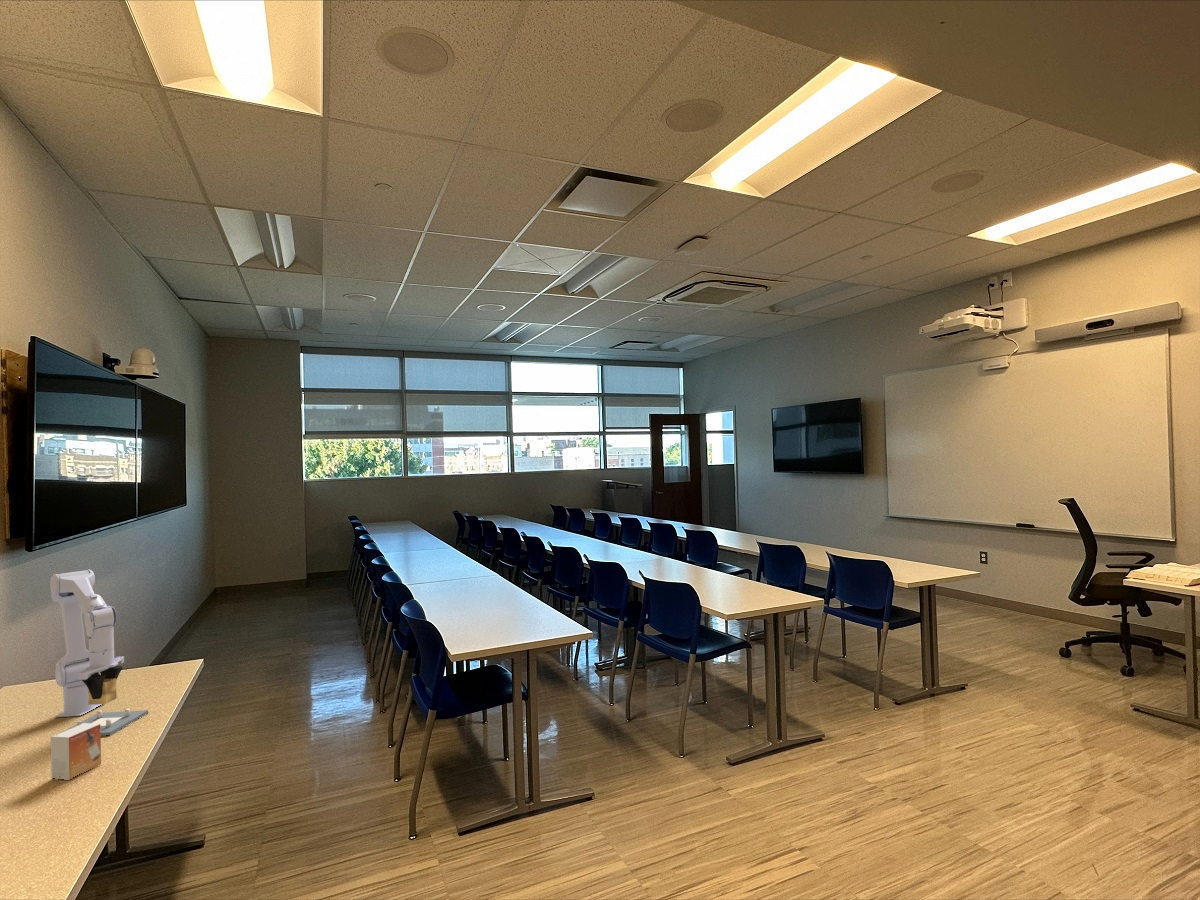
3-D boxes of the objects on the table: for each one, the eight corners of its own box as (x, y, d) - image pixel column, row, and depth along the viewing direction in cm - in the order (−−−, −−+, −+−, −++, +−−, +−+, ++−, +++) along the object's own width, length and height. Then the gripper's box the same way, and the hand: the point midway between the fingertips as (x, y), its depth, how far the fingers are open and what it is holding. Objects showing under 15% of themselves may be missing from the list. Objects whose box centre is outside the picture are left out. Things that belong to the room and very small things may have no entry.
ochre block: (99, 699, 179) (98, 679, 179) (116, 698, 179) (116, 678, 179) (88, 704, 175) (87, 684, 175) (105, 703, 175) (105, 683, 175)
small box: (68, 781, 145) (67, 737, 145) (50, 779, 146) (49, 736, 146) (102, 764, 153) (101, 723, 153) (84, 763, 154) (83, 722, 154)
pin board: (98, 716, 184) (98, 706, 184) (148, 713, 185) (148, 703, 185) (56, 738, 169) (55, 728, 169) (110, 735, 170) (110, 725, 170)
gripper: (95, 656, 170) (97, 704, 170) (133, 641, 185) (134, 685, 184) (70, 658, 170) (71, 706, 170) (110, 642, 184) (111, 686, 184)
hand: (102, 695), depth 177 cm, fingers closed on ochre block, 4 cm apart
